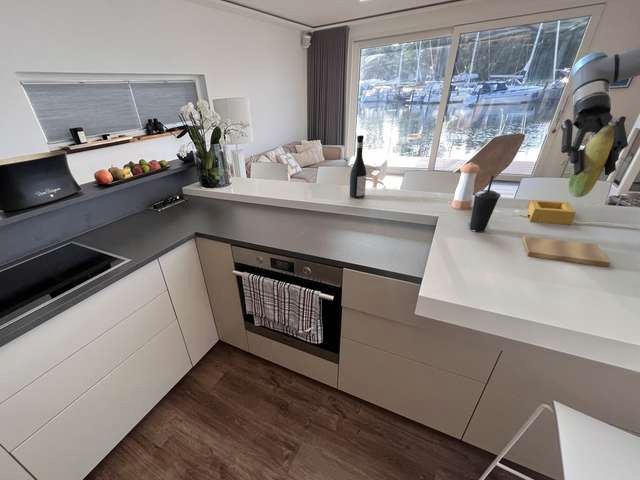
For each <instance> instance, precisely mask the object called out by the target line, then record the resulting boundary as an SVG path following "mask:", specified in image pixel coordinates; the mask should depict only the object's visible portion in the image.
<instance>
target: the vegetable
mask: <svg viewBox="0 0 640 480" xmlns="http://www.w3.org/2000/svg"><path fill="white" fill-rule="evenodd" d="M613 140H614V126H612V125H611V124H609V125H608V126H605V127H603V128H602V129H601V130H600V131H599V132H598V133H597V134H595V133H594V134H593V136H592V137H591V138H590V139H589V140H588V141H587V142H586V144H585V145H584V147H583V149H582V150H583V163H584V170H583V171H582V172H581V173H579V174H578V175H574V167H573V168H572V171H571V174H570V178H569V181H568V185H567V186H568V187H567V189H568V193H569V194H570V195H571V196H572V197H575V198H582V197H585V196H587V195H589V193H591V192H592V190H593V188H594V187H595V185H596V183H597V182H598V180H599V178H600V176H601V175H602V172H603V171H604V169H605V163H606V161H607V158H608V155H609V153H610V149H611V147H612V145H613Z"/></svg>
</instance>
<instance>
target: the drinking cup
mask: <svg viewBox="0 0 640 480" xmlns="http://www.w3.org/2000/svg"><path fill="white" fill-rule="evenodd" d="M490 176H491V177H490V180H489V183H488V187H487V189H481V190H478V191H475V192H474V193H473V195H474V199H473V205H472V210H471V211H472V212H471V217H470V223H469V230H470V229H471V230H475V231H484V230H485V231H486V228H487V226H488V224H489V221H490V219H491V217H492V215H493V212H494V210H495V208H496V206H497V203H498V201H499V198H501V193H499V192H497V191H495V190H492V189H491V187H492V184H493V180H494V177H495V175H490ZM471 230H470V231H471ZM485 231H484V232H485Z"/></svg>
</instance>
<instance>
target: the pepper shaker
mask: <svg viewBox="0 0 640 480" xmlns="http://www.w3.org/2000/svg"><path fill="white" fill-rule="evenodd" d="M480 171H481V168H480V165H478V164H476V163H474V162H473V161H471V162H469V163H465V164H463V165H462V166H460V168H459V172H460V173H461V174H460V178H459V182H458V184H457V186H456V189H455V193H454V197H453V198H452V202H451V208H454V209H456V210H468V209H470V208H471V206H472V204H473V203H472V202H473V199H472V198H473V195H474V191H475V190H474V189H475V188H474V187H475V181H476V177H477V174H478V173H479V172H480Z"/></svg>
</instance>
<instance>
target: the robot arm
mask: <svg viewBox="0 0 640 480" xmlns="http://www.w3.org/2000/svg"><path fill="white" fill-rule="evenodd" d="M571 75H572V77H571V87H572V108H573V109H572V114H573V118H572V119H569V118H566V119H565V120H564V122H563V123H562V124H561V125H560V129H561V130H562V137H561V148H560V149H561V150H560V152H561V153H562V154H566V153H567V154H566V155H567V156H568V157H569V162H570V164H573V168H574V175H578V174H579V173H581V172H582V171H583V170H584V163H583V149H581V146H582V144H583V141H584V139H585V136H586V134H588V133H593V134H594V135H595V134H597V133H598V132H599V131H600V130H601V129H602V128H603V127H605V126H608V125H612V126H614V140H613V145H612V147H611V149H610V153H609V155H608V158H607V161H606V163H605V166H604V176H610V175H611V174H612V173H613V172H616V170H617V166H616V165H617V164H616V163H617V162H618V161H619V159H620V156H619V153H620V152H622V151H624V149H626V148H627V147H629V142H628V136H627V132H626V126H625V123H626V120H627V117H626V116H624V115H623V116H620V117H614V116H613V115H612V114H611V109H612V104H611V103H612V101H611V87H610V85H611V84H615V83H617V82H620V81H624V80H629V79H633V78H636V77H639V76H640V45H639V46H638V45H637V46H634V47H631V48H629V49H627V50H625V51H623V52H619V53H616V54H612V55H610V56H609V55H608V54H607V53H606V52H605V51H599V52H592V53H589V54H587V55H585V56H584V57H582V58H580V59H579V60H578V61H577V62H576V63H575V64H574V66H573V68H572V74H571ZM574 127H575V128H576V129H577V132H576V134H575V138H574V140H573V130H574Z"/></svg>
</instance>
